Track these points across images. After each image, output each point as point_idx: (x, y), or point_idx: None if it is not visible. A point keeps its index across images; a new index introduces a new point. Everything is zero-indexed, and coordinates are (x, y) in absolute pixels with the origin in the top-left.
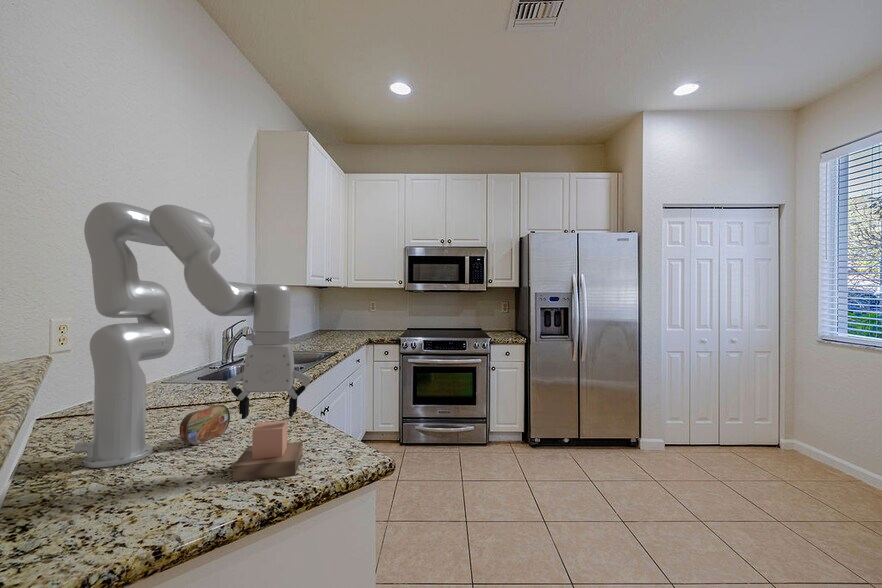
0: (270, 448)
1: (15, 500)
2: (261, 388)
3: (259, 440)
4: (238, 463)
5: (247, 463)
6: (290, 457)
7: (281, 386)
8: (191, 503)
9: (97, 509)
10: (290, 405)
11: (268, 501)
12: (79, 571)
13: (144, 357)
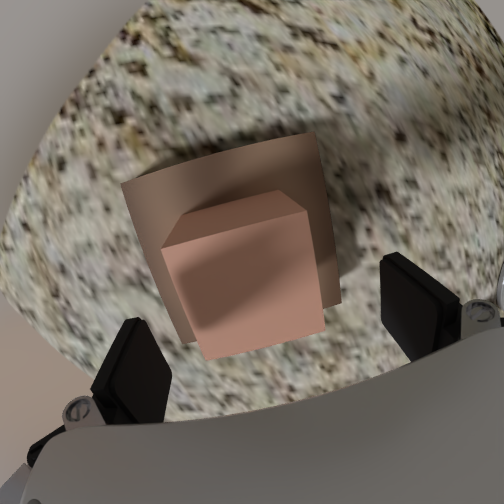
0: (218, 211)
1: None
2: (367, 411)
3: (264, 207)
4: (307, 152)
5: (275, 150)
6: (148, 208)
7: (93, 463)
8: (330, 27)
9: (465, 55)
10: (113, 357)
11: (144, 33)
12: None
13: None
